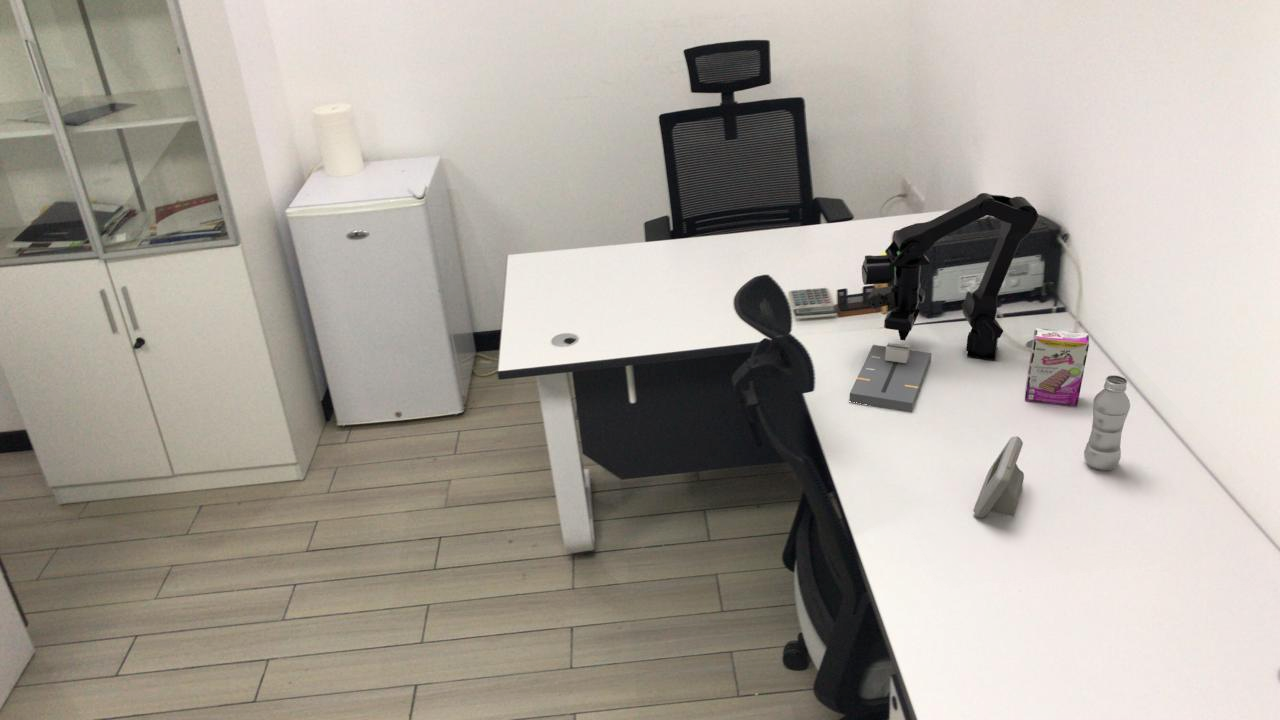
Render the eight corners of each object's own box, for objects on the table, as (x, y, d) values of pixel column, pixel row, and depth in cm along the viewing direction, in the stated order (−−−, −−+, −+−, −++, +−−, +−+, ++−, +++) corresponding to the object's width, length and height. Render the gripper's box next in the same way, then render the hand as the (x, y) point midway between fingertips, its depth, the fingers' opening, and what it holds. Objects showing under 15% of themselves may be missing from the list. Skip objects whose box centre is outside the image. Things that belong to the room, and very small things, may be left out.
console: (930, 361, 242) (931, 352, 240) (911, 412, 223) (912, 402, 222) (872, 353, 247) (873, 344, 246) (849, 402, 228) (849, 392, 227)
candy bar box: (1024, 402, 224) (1033, 337, 216) (1024, 390, 228) (1033, 327, 220) (1078, 408, 220) (1090, 342, 212) (1077, 396, 224) (1088, 331, 216)
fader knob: (908, 357, 238) (909, 345, 237) (906, 363, 236) (907, 351, 235) (887, 354, 240) (888, 342, 239) (885, 360, 238) (885, 348, 236)
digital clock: (991, 471, 202) (997, 427, 197) (1036, 487, 197) (1043, 442, 192) (957, 512, 192) (962, 467, 187) (1002, 529, 187) (1009, 483, 181)
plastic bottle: (1121, 475, 198) (1139, 389, 189) (1085, 473, 200) (1101, 387, 190) (1114, 456, 204) (1131, 372, 194) (1079, 454, 205) (1094, 370, 195)
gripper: (880, 261, 245) (877, 318, 252) (863, 293, 230) (860, 352, 238) (927, 266, 240) (922, 324, 248) (912, 299, 226) (908, 359, 233)
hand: (902, 339), depth 242 cm, fingers closed
